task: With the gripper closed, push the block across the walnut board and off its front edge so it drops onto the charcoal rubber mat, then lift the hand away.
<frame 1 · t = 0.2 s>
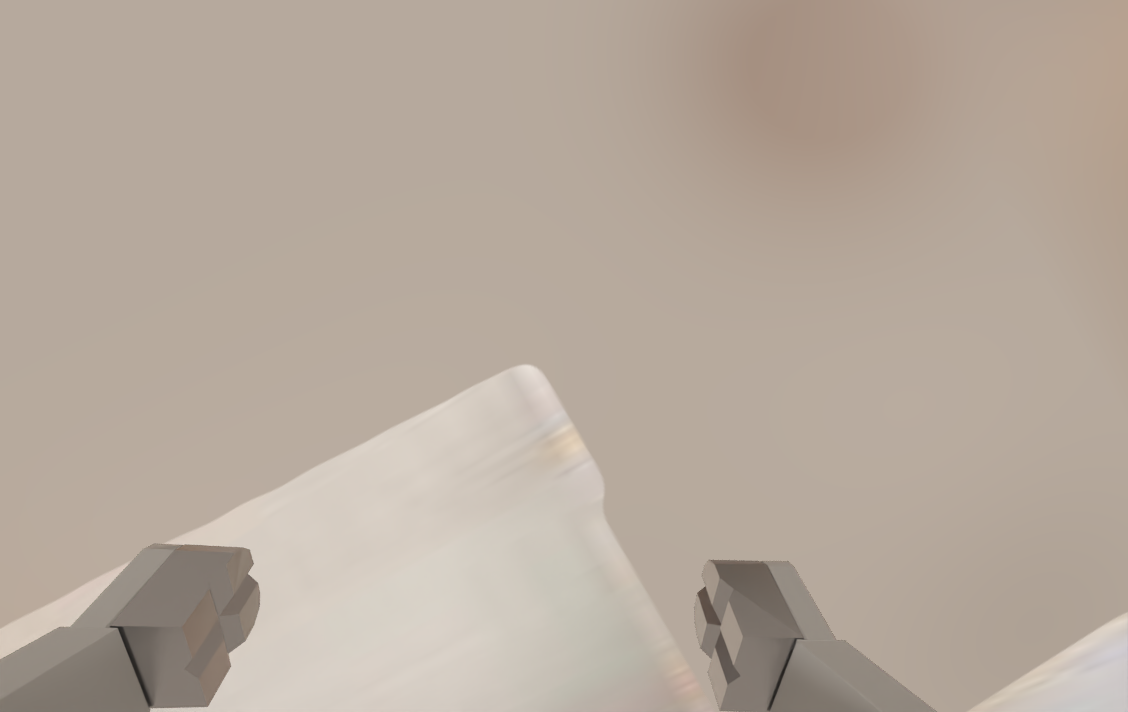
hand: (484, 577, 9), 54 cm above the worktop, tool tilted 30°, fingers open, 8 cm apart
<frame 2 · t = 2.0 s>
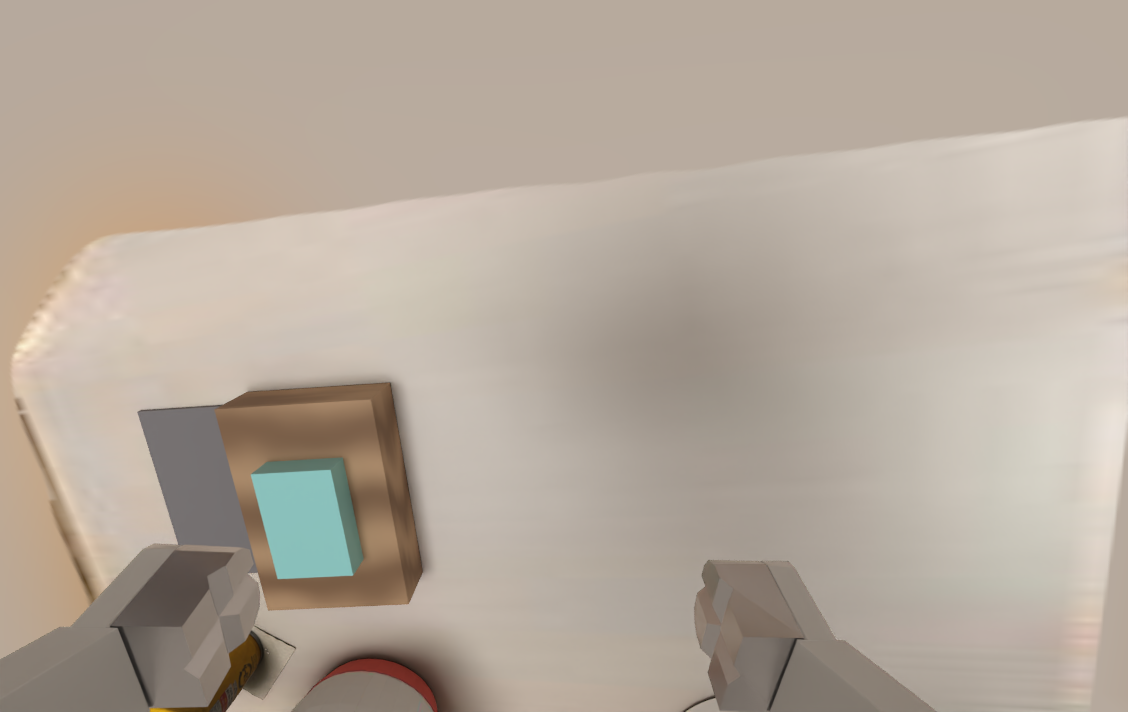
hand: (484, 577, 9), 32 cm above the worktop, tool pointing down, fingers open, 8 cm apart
condiment: (242, 650, 50), on the worktop
block: (316, 511, 41), point 4 cm above the worktop, touching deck
citrus juicer: (384, 695, 51), on the worktop
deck: (338, 486, 45), on the worktop
mat: (216, 493, 45), on the worktop
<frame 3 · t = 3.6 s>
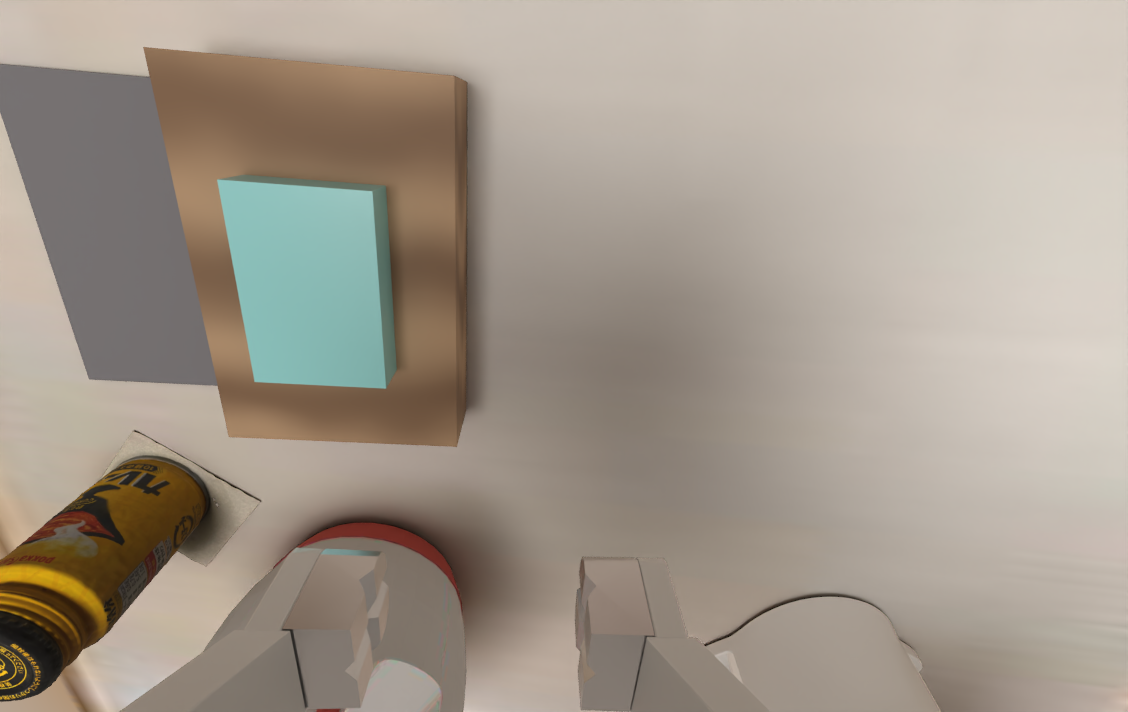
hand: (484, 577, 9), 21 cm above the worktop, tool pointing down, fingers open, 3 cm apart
condiment: (176, 498, 34), on the worktop
block: (326, 280, 24), point 4 cm above the worktop, touching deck
citrus juicer: (382, 571, 38), on the worktop
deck: (354, 259, 28), on the worktop
mat: (139, 245, 27), on the worktop
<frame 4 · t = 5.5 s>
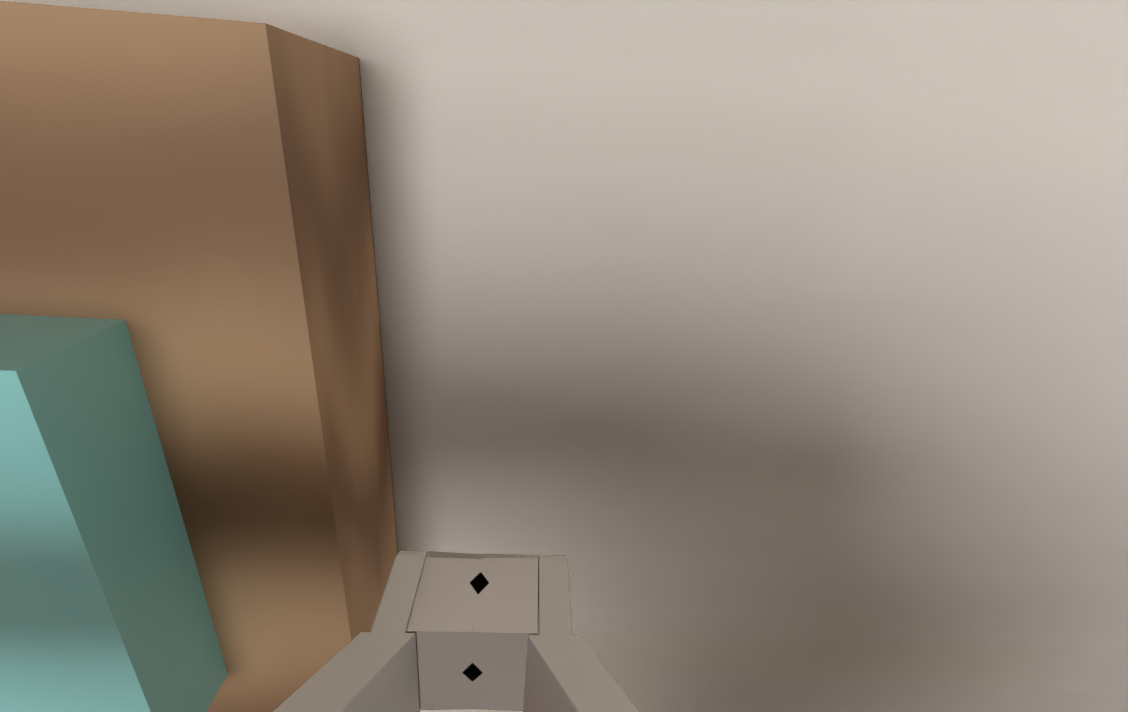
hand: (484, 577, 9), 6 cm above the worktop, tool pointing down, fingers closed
block: (28, 523, 10), point 4 cm above the worktop, touching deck
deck: (161, 420, 14), on the worktop
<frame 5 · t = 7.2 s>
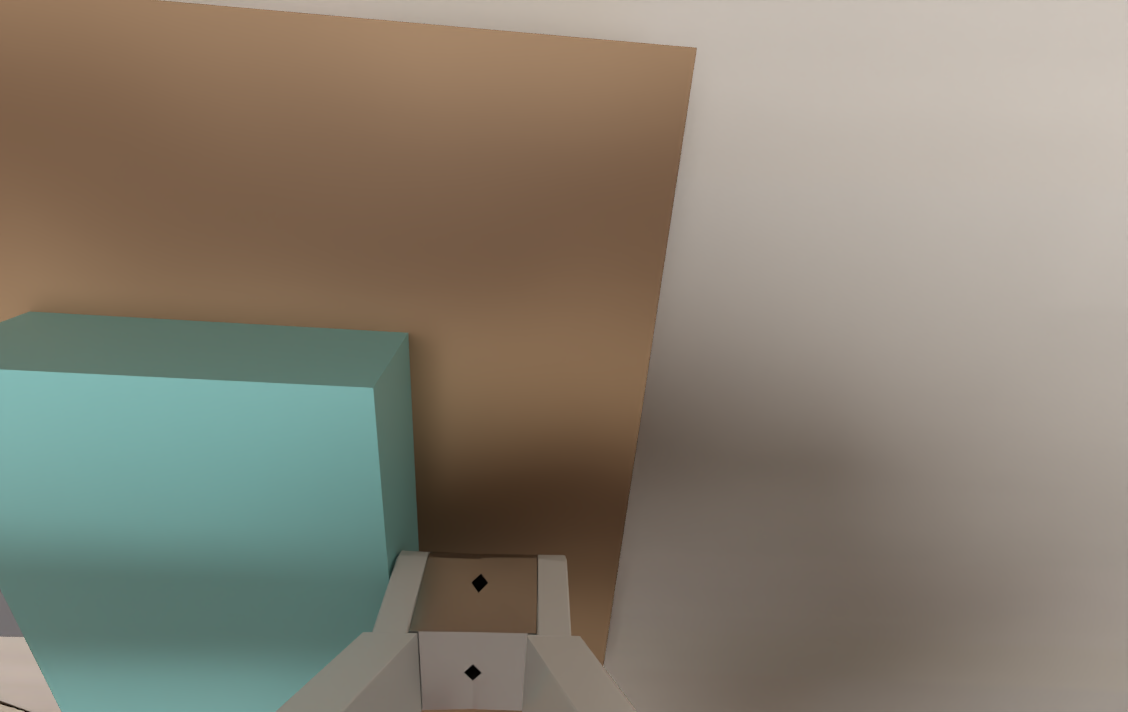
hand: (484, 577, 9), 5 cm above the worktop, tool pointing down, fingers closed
block: (266, 532, 10), point 4 cm above the worktop, touching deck, gripper
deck: (382, 429, 14), on the worktop
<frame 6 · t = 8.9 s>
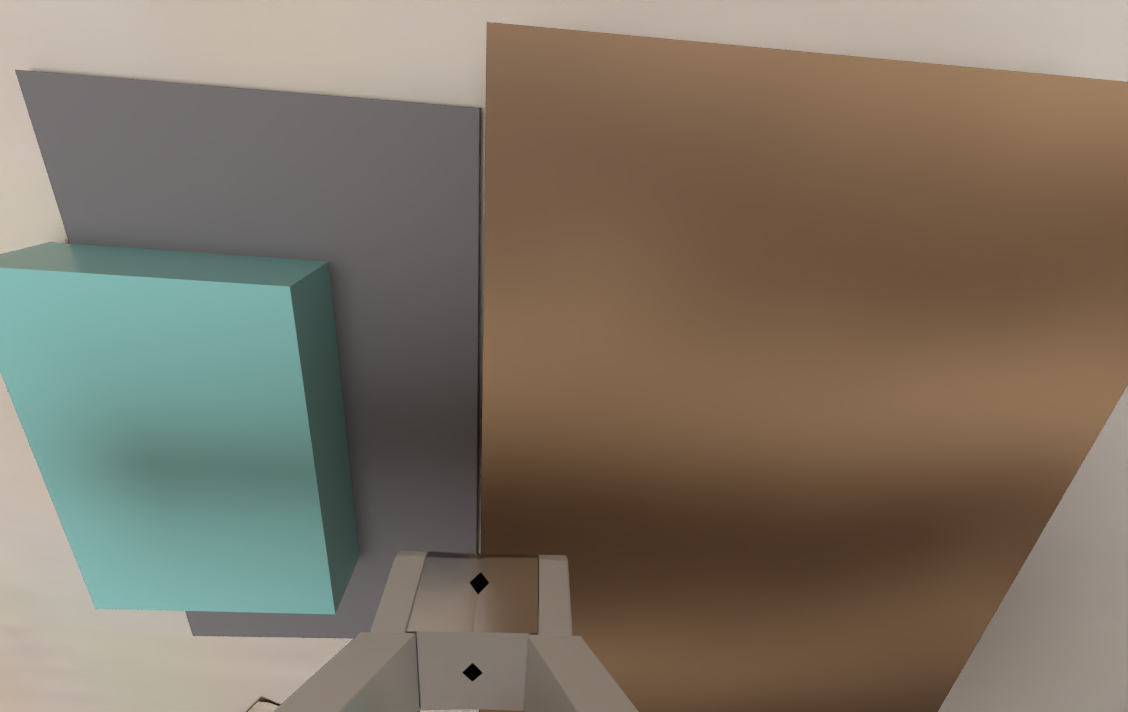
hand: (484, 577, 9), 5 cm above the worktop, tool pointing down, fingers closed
block: (179, 470, 12), point 2 cm above the worktop, tilted 180°, touching mat
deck: (709, 440, 15), on the worktop
mat: (309, 423, 14), on the worktop
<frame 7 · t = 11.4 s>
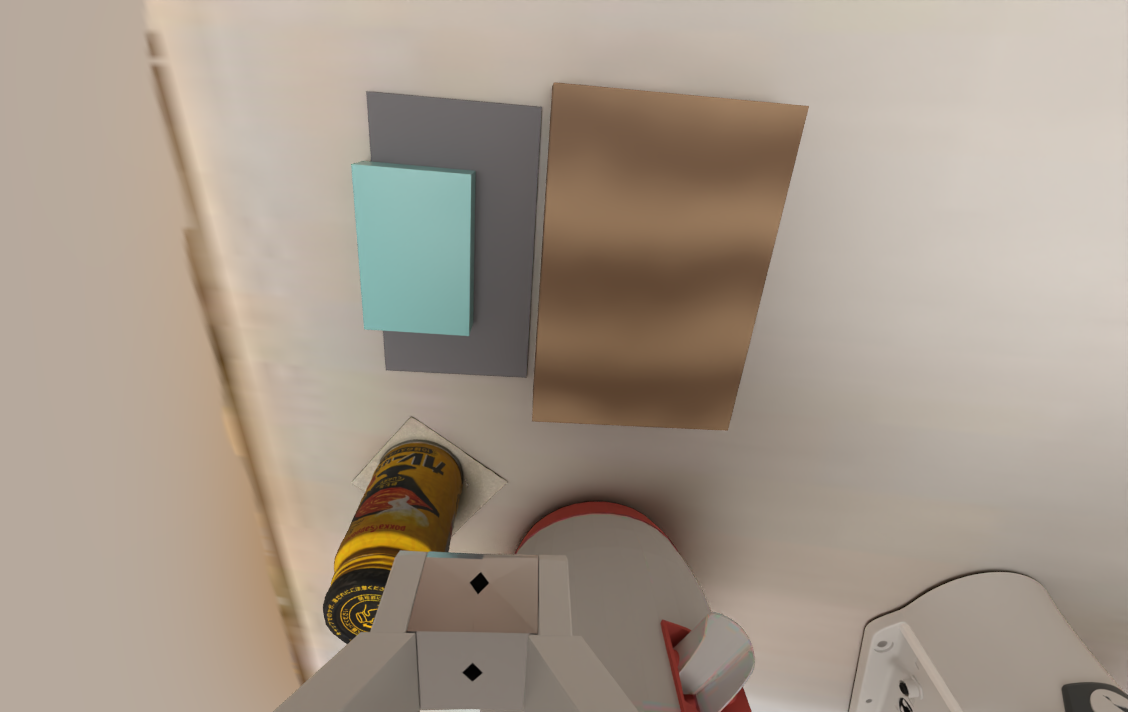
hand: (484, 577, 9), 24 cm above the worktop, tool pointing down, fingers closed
condiment: (430, 479, 38), on the worktop
block: (414, 256, 28), point 2 cm above the worktop, tilted 180°, touching mat
citrus juicer: (599, 547, 41), on the worktop
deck: (640, 263, 31), on the worktop
mat: (456, 250, 31), on the worktop
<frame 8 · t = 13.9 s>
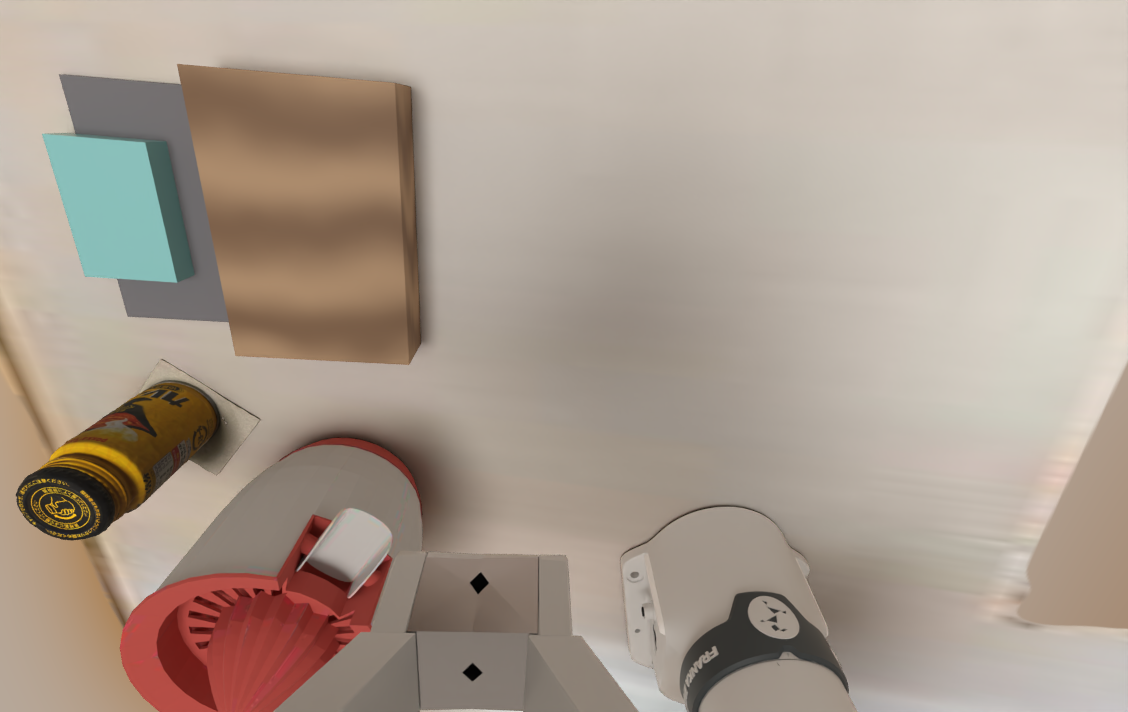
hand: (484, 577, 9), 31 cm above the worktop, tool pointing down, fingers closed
condiment: (193, 417, 43), on the worktop
block: (113, 212, 34), point 2 cm above the worktop, tilted 180°, touching mat
citrus juicer: (359, 482, 46), on the worktop
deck: (330, 221, 37), on the worktop
mat: (168, 210, 36), on the worktop
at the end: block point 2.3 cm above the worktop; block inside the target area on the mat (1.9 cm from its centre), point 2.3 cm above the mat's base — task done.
